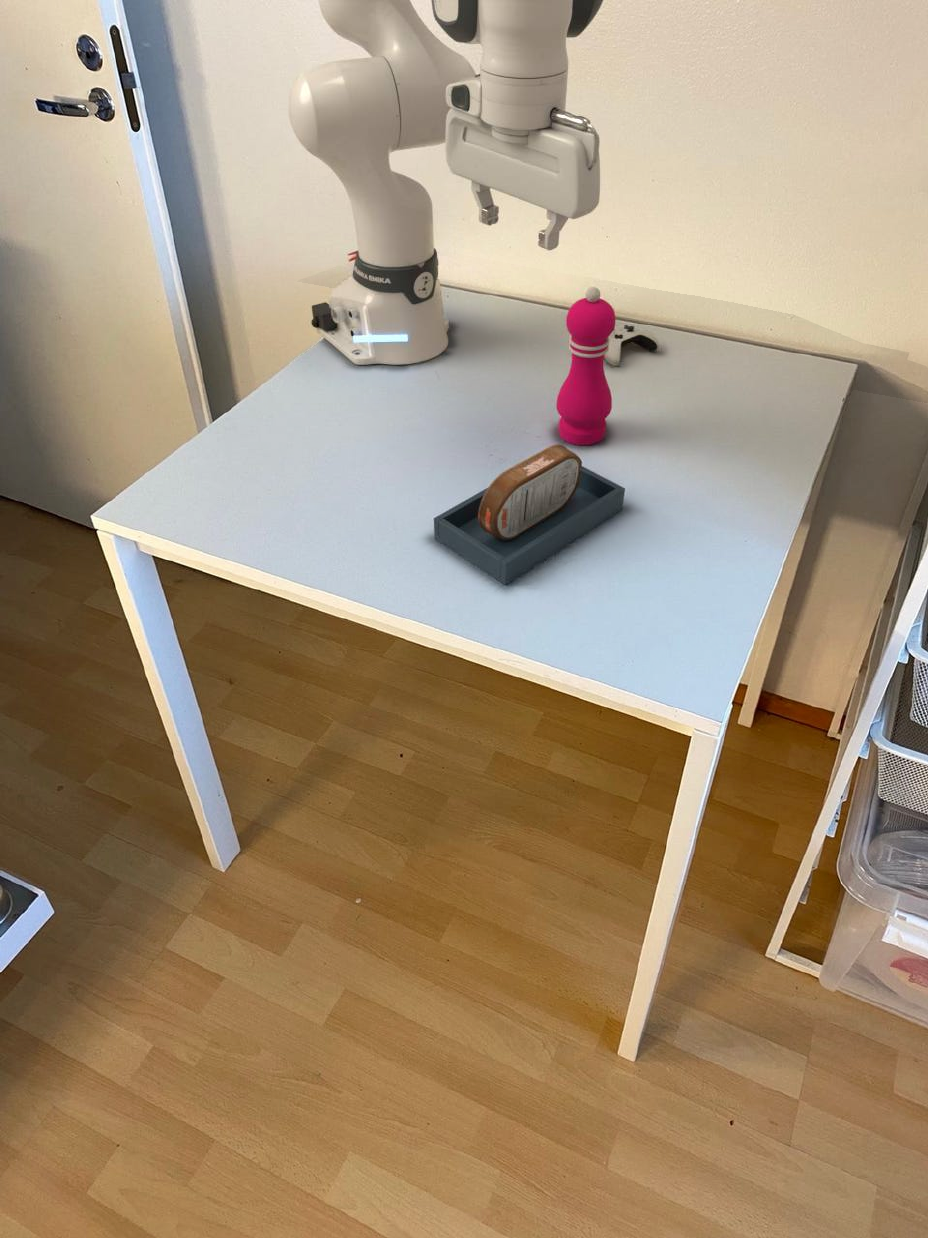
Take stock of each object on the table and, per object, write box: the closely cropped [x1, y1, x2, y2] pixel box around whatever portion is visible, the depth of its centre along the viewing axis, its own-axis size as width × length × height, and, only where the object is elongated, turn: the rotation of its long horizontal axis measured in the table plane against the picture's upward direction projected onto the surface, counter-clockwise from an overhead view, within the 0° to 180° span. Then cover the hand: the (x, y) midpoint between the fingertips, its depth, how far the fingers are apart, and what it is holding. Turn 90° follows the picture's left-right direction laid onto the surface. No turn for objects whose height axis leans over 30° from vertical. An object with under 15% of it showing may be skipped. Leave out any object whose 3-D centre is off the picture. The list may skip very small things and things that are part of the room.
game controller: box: [604, 324, 659, 367], centre depth 139 cm, size 10×5×6 cm
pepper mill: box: [555, 286, 617, 446], centre depth 116 cm, size 7×7×20 cm
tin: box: [478, 443, 583, 540], centre depth 104 cm, size 15×3×8 cm, turn 133°
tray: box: [433, 465, 626, 586], centre depth 107 cm, size 12×20×3 cm, turn 133°
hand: (517, 234), depth 103 cm, fingers open, 8 cm apart
